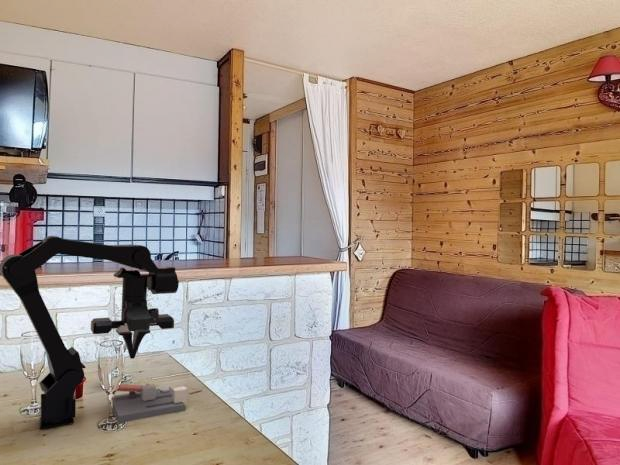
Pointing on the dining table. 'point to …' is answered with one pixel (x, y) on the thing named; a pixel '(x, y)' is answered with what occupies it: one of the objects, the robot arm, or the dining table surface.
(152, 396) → the middle slider
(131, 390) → the rocker
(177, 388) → the front slider
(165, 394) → the panel
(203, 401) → the dining table surface
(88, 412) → the dining table surface
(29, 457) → the dining table surface
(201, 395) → the dining table surface
